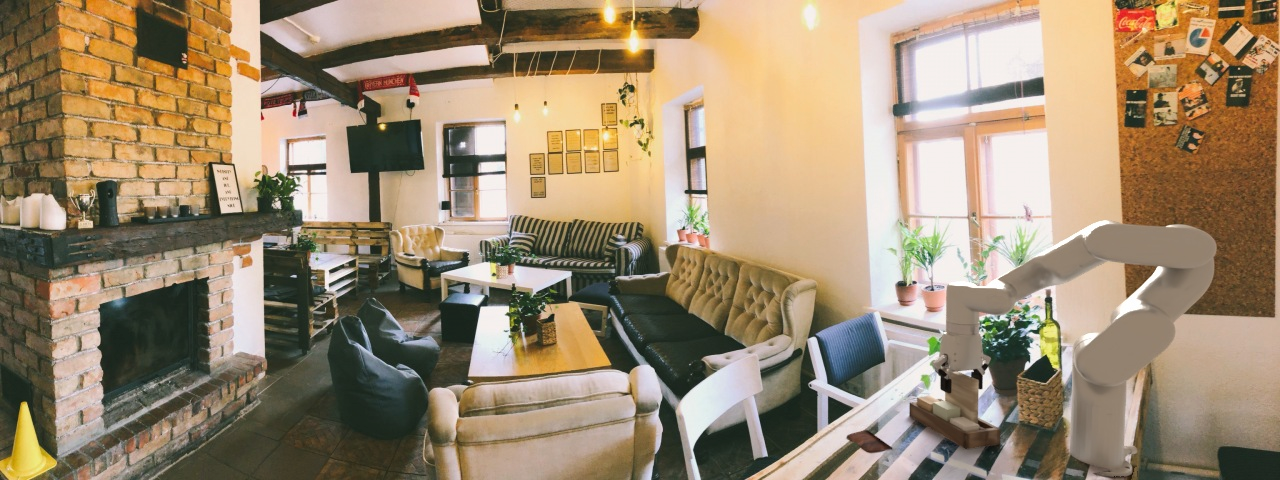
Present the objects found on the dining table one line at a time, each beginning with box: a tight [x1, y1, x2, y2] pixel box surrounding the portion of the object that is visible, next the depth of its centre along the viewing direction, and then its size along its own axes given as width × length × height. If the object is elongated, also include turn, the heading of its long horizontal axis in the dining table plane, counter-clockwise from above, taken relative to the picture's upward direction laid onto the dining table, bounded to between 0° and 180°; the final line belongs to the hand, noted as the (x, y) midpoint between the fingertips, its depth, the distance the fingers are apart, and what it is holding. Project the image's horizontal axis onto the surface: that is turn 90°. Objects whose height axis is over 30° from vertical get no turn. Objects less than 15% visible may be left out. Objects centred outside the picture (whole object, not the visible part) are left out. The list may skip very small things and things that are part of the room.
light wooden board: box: [944, 370, 980, 424], centre depth 137 cm, size 2×9×15 cm, turn 10°
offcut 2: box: [950, 417, 979, 432], centre depth 131 cm, size 4×5×5 cm
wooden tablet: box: [846, 429, 893, 453], centre depth 138 cm, size 26×2×10 cm
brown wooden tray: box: [908, 398, 1002, 450], centre depth 137 cm, size 10×20×6 cm, turn 10°
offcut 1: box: [916, 395, 940, 413], centre depth 142 cm, size 4×5×6 cm
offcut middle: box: [933, 400, 960, 423], centre depth 136 cm, size 4×5×7 cm
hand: (961, 389), depth 137 cm, fingers open, 9 cm apart
